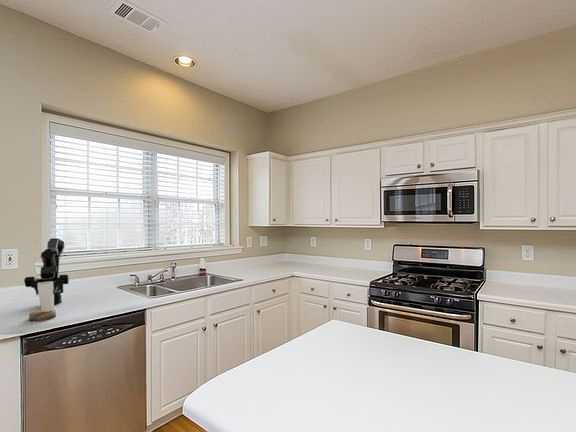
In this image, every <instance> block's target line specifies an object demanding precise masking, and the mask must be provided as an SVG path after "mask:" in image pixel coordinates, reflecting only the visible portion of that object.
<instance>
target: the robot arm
mask: <svg viewBox="0 0 576 432" xmlns="http://www.w3.org/2000/svg"><path fill="white" fill-rule="evenodd" d="M46 246H47V247H46V249H45V250H44V251H42V252H41V253H40V258H41V261H42V266H41V267H40V273H39V274H40V275H39V276H40V278H37V277H35V276H25V278H24V280H23V282H24V286H25V287H26V288H32V289H34V291H35V294H36V296H39V295H38V288H37V284H38V283H42V282H48V281H53V285H54V290H53V294H54V306H56V305H58V304H61V303H62V302H63V301H62V295H61V294H63V293H64V285H68V284H69V282H70V280H69V279H70V278H69V275H68V274H66V273H65V274H59V270H60V257H61V255H62V254H63V252H64V249H65V241H64V240H63V239H60V238H58V237H57V238H54V237H53V238H49V241H47V245H46Z"/></svg>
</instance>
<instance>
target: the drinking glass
mask: <svg viewBox="0 0 576 432" xmlns="http://www.w3.org/2000/svg"><path fill="white" fill-rule="evenodd" d="M37 288H38V295H37V296H38V298H39V299H38V300H39V302H40V308H41V310H42V312H50V311H53V310H55V305H54V294H53V290H54V285H53V281H48V282H41V283H38V284H37Z"/></svg>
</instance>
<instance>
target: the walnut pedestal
mask: <svg viewBox="0 0 576 432" xmlns="http://www.w3.org/2000/svg"><path fill="white" fill-rule="evenodd" d="M56 312H57V311H56V310H55V309H54V310H53V311H50V312H42V310H40V309H39V310H34V311H32V312H30V313H29V314H28V321H29V322H34V323H35V322H44V321H49V320H51V319H55V318H56Z"/></svg>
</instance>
